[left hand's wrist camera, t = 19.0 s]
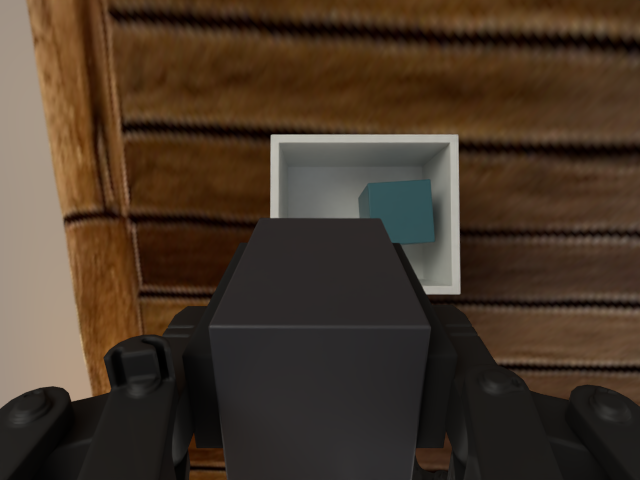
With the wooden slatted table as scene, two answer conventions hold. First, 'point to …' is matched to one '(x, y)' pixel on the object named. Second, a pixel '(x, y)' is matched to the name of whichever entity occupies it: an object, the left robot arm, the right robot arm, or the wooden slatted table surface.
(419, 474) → the right robot arm
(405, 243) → the teal block
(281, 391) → the charcoal block
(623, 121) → the wooden slatted table surface
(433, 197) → the handled box
